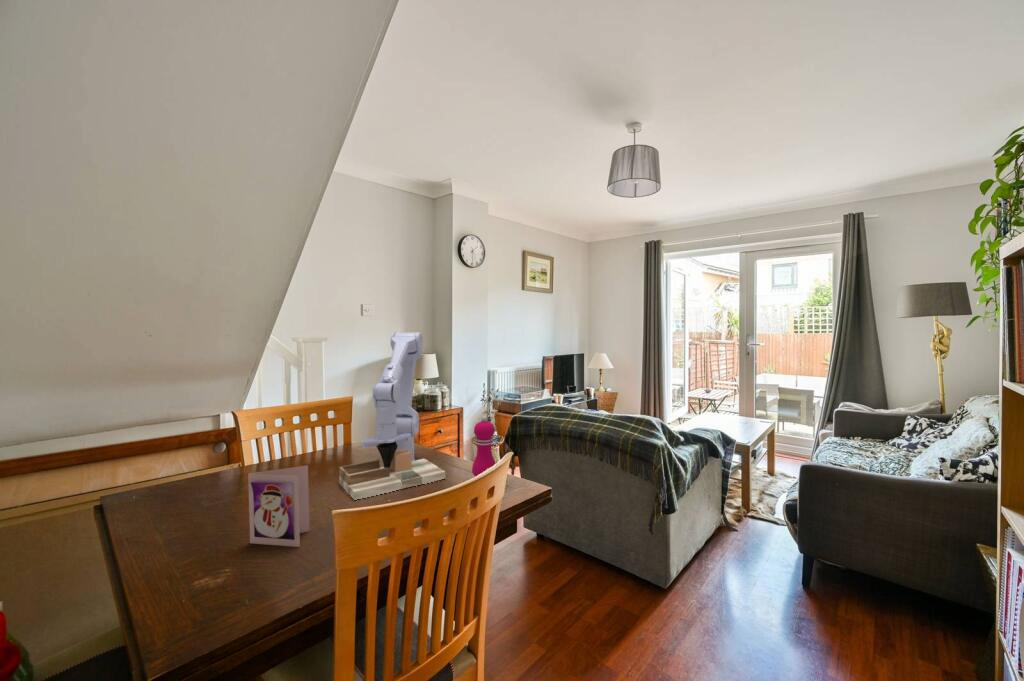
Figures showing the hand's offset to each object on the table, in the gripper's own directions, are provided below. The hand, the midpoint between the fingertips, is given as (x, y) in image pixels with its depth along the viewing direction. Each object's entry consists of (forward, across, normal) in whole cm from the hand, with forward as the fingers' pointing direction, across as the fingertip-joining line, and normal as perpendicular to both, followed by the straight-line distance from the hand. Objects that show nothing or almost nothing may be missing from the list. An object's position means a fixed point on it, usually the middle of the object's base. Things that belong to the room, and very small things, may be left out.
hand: (387, 467), depth 128 cm
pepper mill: (+4, +22, -20) cm, 30 cm away
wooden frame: (+1, -7, 0) cm, 7 cm away
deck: (+3, +1, -3) cm, 4 cm away
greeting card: (+4, -30, -21) cm, 37 cm away
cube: (+1, +4, 0) cm, 4 cm away
